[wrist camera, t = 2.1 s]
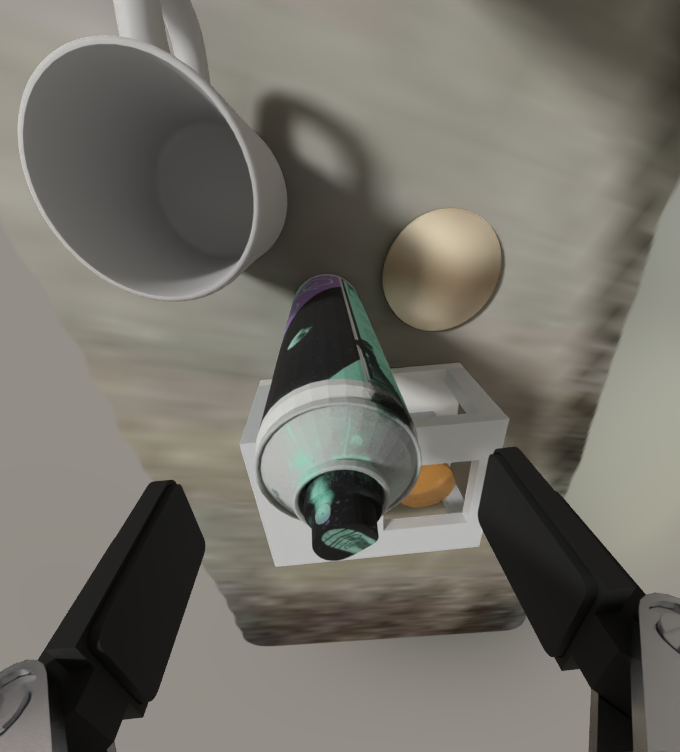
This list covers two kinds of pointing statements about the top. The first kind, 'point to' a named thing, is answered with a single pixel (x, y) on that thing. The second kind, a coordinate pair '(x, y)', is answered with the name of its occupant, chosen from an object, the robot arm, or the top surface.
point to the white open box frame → (438, 445)
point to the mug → (148, 158)
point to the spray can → (335, 423)
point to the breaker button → (431, 486)
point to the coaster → (441, 269)
